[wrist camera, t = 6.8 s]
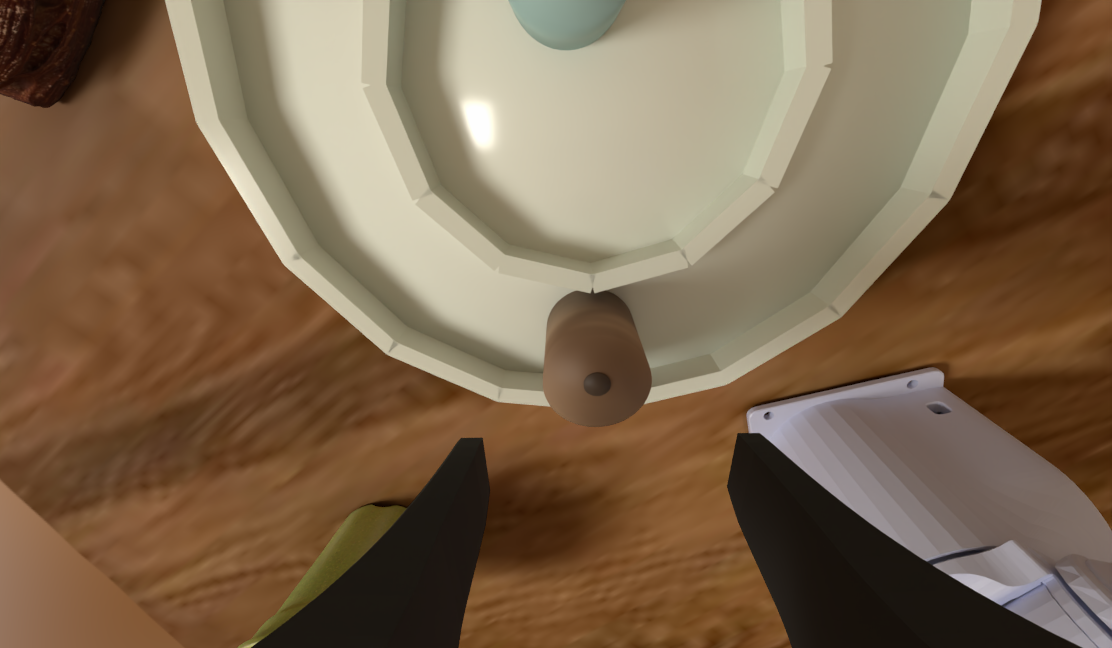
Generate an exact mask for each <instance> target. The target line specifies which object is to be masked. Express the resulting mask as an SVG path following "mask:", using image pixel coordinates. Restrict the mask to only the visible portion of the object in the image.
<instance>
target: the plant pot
mask: <svg viewBox="0 0 1112 648" xmlns="http://www.w3.org/2000/svg"><path fill="white" fill-rule="evenodd" d="M406 509H407V508H405V507H401V506H398V505H394V506H390V507H377V506H374V505H367V506H364V507H361V508H359V509H357V510H355V511H354V512H352V513H351V514H350V515H349V516H348V517H347V519H346V520H345V522H344V523H343V524H342V526H341V527H340V528H339V530H338V531H337V532H336V534H335V535H334V536H333V538H332V539H331V540H330V542H329V543H328V545H327V546H326V547H325V549H324V550H323V552H322V553H321V554H320V556H319V557H318V558H317V560H316V561H315V562H314V564H313V565H312V567H311V568H310V569H309V571H308V572H307V573H306V575H305V576H304V577H303V579H302V580H301V581H300V583H299V584H298V585H297V587H296V588H295V589H294V591H293V592H292V593H291V595H290V596H289V597H288V599H287V600H286V601H285V603H284V604H283V605H282V607H281V608H280V609H279V611H278V612H277V613H276V615H274V616H273V617H271V618H270V619H269V620H267V621H266V622H265V623H264V624H263V625H262V627H261V628H260V629H259V630H258V632H257V633H256V634H255V635H254V637H253V638H252V639H250V640H248V641H246V642H245V643H243V644H241V645H240V646H239V647H238V648H251V647H252V646H253V645H255V644H256V643H258V642H259V641H261V640H262V639H263V638H265V637H266V636H268V635H269V634H270V633H272V632H273V631H274V630H276V629H277V628H278V627H280V626H281V625H282V624H284V623H285V622H286V621H287V620H289V619H290V618H291V617H292V616H294V615H295V614H296V613H297V612H299V611H300V610H301V609H302V608H304V607H305V606H306V605H307V604H309V603H310V602H311V601H312V600H314V599H315V598H316V597H317V596H319V595H320V594H321V593H322V592H323V591H324V590H326V589H327V588H328V587H329V586H330V585H331V584H333V583H334V582H335V581H336V580H337V579H338V578H339V577H340V576H341V575H343V574H344V573H345V572H346V571H347V570H348V569H349V568H350V567H351V566H352V565H353V564H354V563H356V562H357V561H358V560H359V559H360V558H361V557H362V556H363V555H364V554H365V553H366V552H367V551H368V550H369V549H370V548H371V547H372V546H373V545H374V544H375V543H376V542H377V541H378V540H379V539H380V538H381V537H382V536H383V535H384V534H385V533H386V531H387V530H388V529H389V528H390V527H391V526H392V525H393V524H394V523H395V522H396V520H397V519H398V518H399V517H400V516H401V515H402V514H403V512H404V511H405V510H406Z"/></svg>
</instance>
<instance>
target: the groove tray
mask: <svg viewBox="0 0 1112 648" xmlns="http://www.w3.org/2000/svg"><path fill="white" fill-rule="evenodd" d="M1041 1H1042V0H626V1H625V3H624V5H623V7H622V9H621V10H620V12H619V14H618V16H617V18H616V19H615V21H614V23H613V24H612V25H611V27H610V28H609V29H608V30H607V31H606V32H605V34H604V35H602V36H601V37H600V38H599V39H598V40H596V41H595V42H593V43H592V44H590V45H588V46H585V47H583V48H580V49H576V50H557V49H552V48H550V47H547V46H545V45H543V44H541V43H539V42H538V41H536V40H535V39H534V38H532V37H531V36H530V35H529V34H528V33H527V32H526V31H525V29H524V28H523V27H522V26H521V24H520V23H519V21H518V19H517V18H516V16H515V14H514V12H513V9H512V7H511V5H510V3H509V1H508V0H165V2H166V6H167V10H168V14H169V18H170V22H171V26H172V30H173V34H174V38H175V42H176V45H177V49H178V53H179V57H180V61H181V65H182V69H183V73H184V77H185V81H186V84H187V88H188V92H189V96H190V100H191V104H192V108H193V112H194V116H195V120H196V122H198V123H197V125H198V126H199V128H200V129H201V131H202V133H203V134H204V136H205V138H206V139H207V141H208V142H209V144H210V146H211V147H212V149H213V151H214V152H215V154H216V155H217V157H218V159H219V160H220V162H221V164H222V165H223V167H224V168H225V170H226V172H227V173H228V175H229V177H230V178H231V180H232V181H233V183H234V185H235V186H236V188H237V190H238V191H239V193H240V194H241V196H242V198H243V199H244V201H245V203H246V204H247V206H248V207H249V209H250V211H251V212H252V214H253V216H254V217H255V219H256V220H257V222H258V224H259V225H260V227H261V229H262V230H263V232H264V233H265V235H266V237H267V238H268V240H269V242H270V243H271V245H272V247H273V248H274V250H275V251H276V253H277V255H278V256H279V258H280V260H281V261H282V263H283V264H284V265H285V266H286V267H287V268H288V269H289V270H290V271H292V272H293V273H294V274H295V275H296V276H297V277H298V278H300V279H301V280H302V281H303V282H304V283H305V284H306V285H308V286H309V287H310V288H311V289H312V290H313V291H315V292H316V293H317V294H318V295H319V296H320V297H321V298H323V299H324V300H325V301H326V302H327V303H328V304H329V305H331V306H332V307H333V308H334V309H335V310H336V311H337V312H339V313H340V314H341V315H342V316H343V317H344V318H346V319H347V320H348V321H349V322H350V323H351V324H352V325H354V326H355V327H356V328H357V329H358V330H359V331H360V332H362V333H363V334H364V335H365V336H366V337H367V338H368V339H370V340H371V341H372V342H373V343H374V344H375V345H377V346H378V347H379V348H380V349H381V350H382V351H383V352H385V353H386V354H388V355H389V356H391V357H394V358H396V359H398V360H401V361H403V362H405V363H408V364H410V365H412V366H415V367H417V368H419V369H422V370H424V371H426V372H429V373H431V374H433V375H436V376H438V377H440V378H443V379H445V380H448V381H450V382H452V383H455V384H457V385H459V386H462V387H464V388H466V389H469V390H471V391H473V392H476V393H478V394H480V395H483V396H485V397H487V398H490V399H492V400H494V401H498V402H505V403H516V404H528V405H540V406H550V405H549V403H548V402H547V399H546V397H545V394H544V391H543V369H544V356H545V342H546V328H547V320H548V317H549V314H550V312H551V310H552V308H553V307H554V305H555V304H556V303H557V302H558V301H559V300H560V299H561V298H563V297H564V296H566V295H567V294H569V293H571V292H573V291H576V290H577V291H582V292H586V293H591V290H592V288H593V290H594V293H598V292H601V291H605V290H606V291H609V292H611V293H613V294H615V295H616V296H618V297H619V298H620V299H622V300H623V301H624V303H625V304H626V305H627V307H628V308H629V310H630V312H631V315H632V318H633V320H634V323H635V326H636V329H637V332H638V335H639V338H640V341H641V343H642V346H643V349H644V352H645V355H646V358H647V361H648V363H649V366H650V370H651V375H652V385H651V390H650V393H649V396H648V398H647V400H646V401H645V403H644V404H646V403H651V402H655V401H659V400H663V399H668V398H672V397H676V396H681V395H685V394H689V393H693V392H698V391H702V390H706V389H711V388H715V387H719V386H724V385H726V384H729V383H731V382H732V381H734V380H736V379H737V378H739V377H741V376H742V375H744V374H746V373H747V372H749V371H751V370H753V369H754V368H756V367H758V366H759V365H761V364H763V363H764V362H766V361H768V360H770V359H771V358H773V357H775V356H776V355H778V354H780V353H781V352H783V351H785V350H787V349H788V348H790V347H792V346H793V345H795V344H797V343H798V342H800V341H802V340H804V339H805V338H807V337H809V336H810V335H812V334H814V333H815V332H817V331H819V330H821V329H822V328H824V327H826V326H827V325H829V324H831V323H832V322H834V321H836V320H838V319H839V318H841V317H842V316H843V315H844V314H845V313H846V312H847V311H848V310H849V308H850V307H851V306H852V305H853V304H854V303H855V302H856V301H857V300H858V299H859V298H860V297H861V296H862V294H863V293H864V292H865V291H866V290H867V289H868V288H869V287H870V286H871V285H872V284H873V283H874V282H875V280H876V279H877V278H878V277H879V276H880V275H881V274H882V273H883V272H884V271H885V270H886V269H887V268H888V266H889V265H890V264H891V263H892V262H893V261H894V260H895V259H896V258H897V257H898V256H899V255H900V254H901V252H902V251H903V250H904V249H905V248H906V247H907V246H908V245H909V244H910V243H911V242H912V241H913V240H914V238H915V237H916V236H917V235H918V234H919V233H920V232H921V231H922V230H923V229H924V228H925V227H926V226H927V224H928V223H929V222H930V221H931V220H932V219H933V218H934V217H935V216H936V215H937V214H938V213H939V212H940V210H941V209H942V208H943V207H944V206H945V205H946V204H947V203H948V202H949V200H950V199H951V197H952V195H953V193H954V191H955V189H956V187H957V185H958V183H959V181H960V179H961V177H962V175H963V173H964V171H965V169H966V167H967V165H968V163H969V161H970V159H971V157H972V155H973V153H974V151H975V149H976V147H977V145H978V143H979V141H980V139H981V137H982V135H983V133H984V131H985V129H986V127H987V125H988V123H989V121H990V119H991V117H992V115H993V113H994V111H995V109H996V107H997V105H998V103H999V100H1000V98H1001V96H1002V94H1003V92H1004V90H1005V88H1006V86H1007V84H1008V82H1009V80H1010V78H1011V76H1012V74H1013V72H1014V70H1015V68H1016V66H1017V64H1018V62H1019V60H1020V58H1021V56H1022V54H1023V52H1024V50H1025V48H1026V46H1027V44H1028V42H1029V40H1030V38H1031V36H1032V34H1033V32H1034V30H1035V28H1036V26H1037V24H1036V23H1038V20H1039V14H1040V7H1041ZM840 316H841V317H840Z"/></svg>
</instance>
